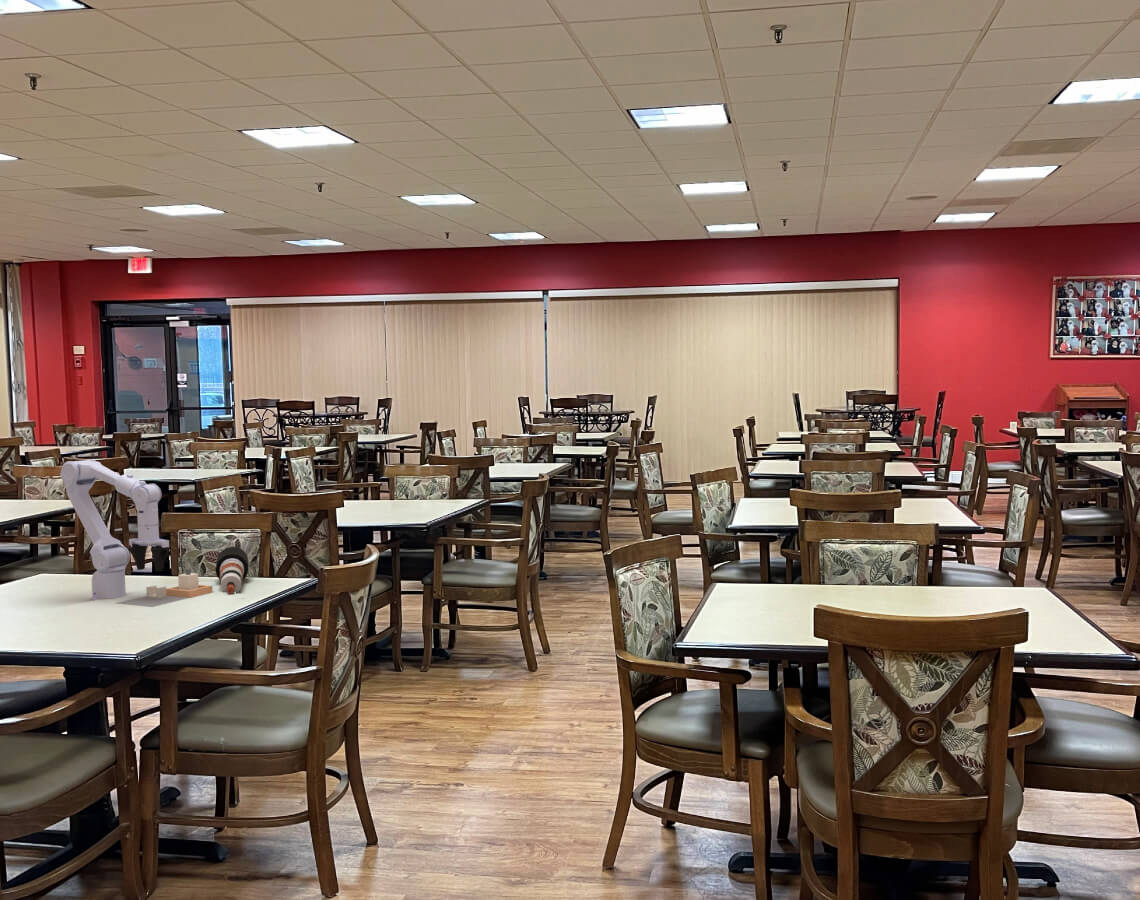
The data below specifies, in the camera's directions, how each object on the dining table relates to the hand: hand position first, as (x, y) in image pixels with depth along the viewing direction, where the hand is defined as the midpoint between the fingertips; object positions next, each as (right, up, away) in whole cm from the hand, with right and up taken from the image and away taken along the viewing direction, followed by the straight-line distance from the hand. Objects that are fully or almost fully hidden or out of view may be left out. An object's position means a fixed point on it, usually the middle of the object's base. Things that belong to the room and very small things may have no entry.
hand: (150, 570), depth 307 cm
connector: (+9, -8, +6) cm, 14 cm away
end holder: (+10, -9, +6) cm, 14 cm away
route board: (+4, -9, +1) cm, 10 cm away
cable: (+18, -8, +20) cm, 28 cm away
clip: (+1, -9, +2) cm, 10 cm away
